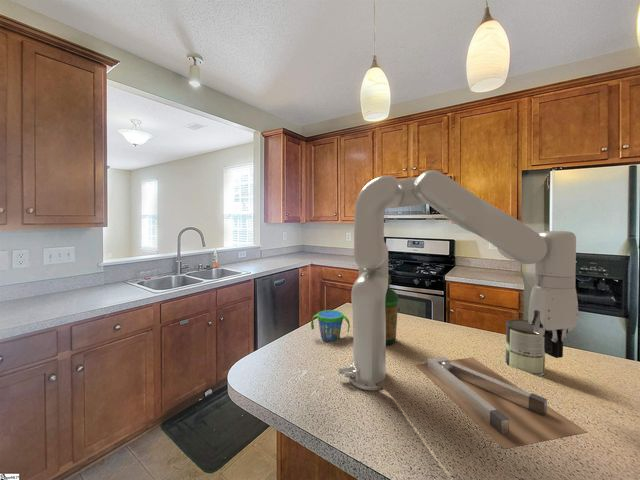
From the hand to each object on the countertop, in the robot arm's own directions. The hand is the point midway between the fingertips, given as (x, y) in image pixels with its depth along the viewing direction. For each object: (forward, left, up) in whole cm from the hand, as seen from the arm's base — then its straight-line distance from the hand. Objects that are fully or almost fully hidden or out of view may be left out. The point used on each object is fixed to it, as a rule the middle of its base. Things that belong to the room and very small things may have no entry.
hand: (553, 355), depth 69 cm
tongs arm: (-12, +7, -12) cm, 19 cm away
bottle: (-25, +43, -14) cm, 52 cm away
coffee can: (+11, +17, -14) cm, 24 cm away
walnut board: (-13, +7, -14) cm, 20 cm away
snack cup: (-44, +53, -14) cm, 71 cm away
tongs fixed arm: (-18, +7, -12) cm, 23 cm away
